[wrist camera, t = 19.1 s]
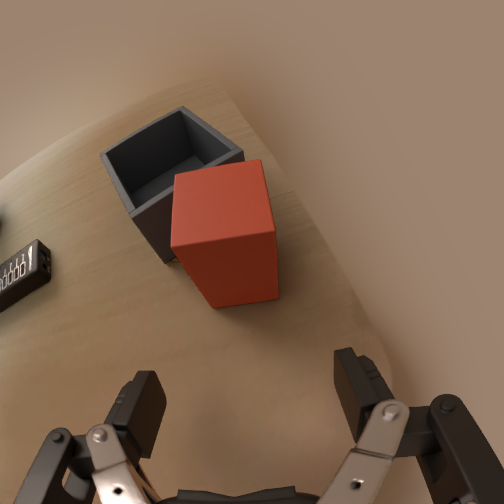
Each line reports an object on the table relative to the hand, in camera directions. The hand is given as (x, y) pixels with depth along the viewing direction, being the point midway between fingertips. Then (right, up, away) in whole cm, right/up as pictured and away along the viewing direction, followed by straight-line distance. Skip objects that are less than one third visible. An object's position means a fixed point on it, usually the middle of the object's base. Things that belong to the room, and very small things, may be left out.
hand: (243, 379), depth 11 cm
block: (0, +4, +11) cm, 11 cm away
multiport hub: (-28, +1, +12) cm, 30 cm away
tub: (-6, +11, +15) cm, 19 cm away
